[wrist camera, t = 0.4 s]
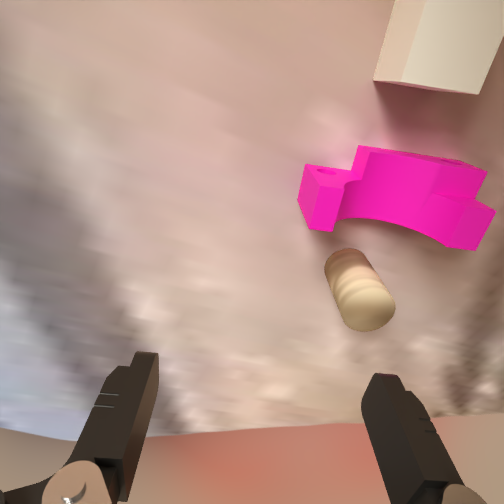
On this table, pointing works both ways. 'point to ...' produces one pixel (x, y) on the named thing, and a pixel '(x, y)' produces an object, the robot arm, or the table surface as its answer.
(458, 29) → the beige cube
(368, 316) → the birch cylinder
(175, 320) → the table surface
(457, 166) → the toy block
